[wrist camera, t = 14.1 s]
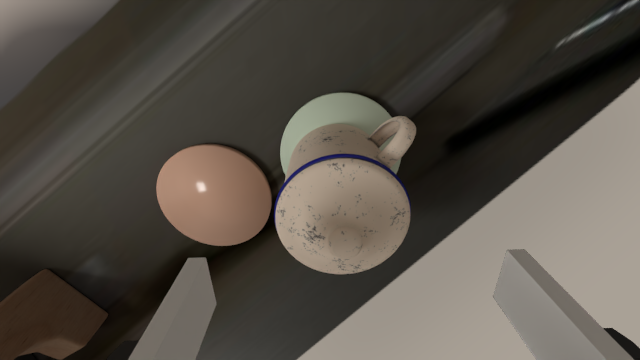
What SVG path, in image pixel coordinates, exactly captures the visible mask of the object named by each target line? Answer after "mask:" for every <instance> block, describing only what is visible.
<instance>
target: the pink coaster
mask: <svg viewBox="0 0 640 360" xmlns="http://www.w3.org/2000/svg"><path fill="white" fill-rule="evenodd" d="M156 190H157V198H158V202H159V205H160V207H161V209H162V211H163V213H164V215H165V216H166V218H167V219H168V220H169V221H170V223H171V224H172V225H173V226H174V227H175V228H176V229H178V230H179V231H180V232H182V233H183V234H184V235H186V236H188V237H189V238H192V239H194V240H196V241H199V242H201V243H205V244H209V245H216V246H228V245H235V244H239V243H242V242H244V241H247V240H249V239H250V238H252V237H254V236H255V235H256V234H257V233H259V231H260V230H261V229H262V228H263V227H264V225H265V224H266V222H267V220H268V217H269V214H270V210H271V206H272V193H271V188H270V185H269V182H268V180H267V178H266V176H265V174H264V173H263V171H262V170H261V169H260V167H259V166H258V165H257V164H256V163H255V162H254V161H253V160H252V159H250V158H249V157H248V156H246V155H245V154H243V153H241V152H240V151H238V150H236V149H233V148H231V147H228V146H224V145H220V144H210V143H205V144H197V145H192V146H189V147H187V148H184V149H183V150H181V151H179V152H178V153H176V154H175V155H174V156H172V157H171V158H170V159H169V160H168V161H167V162H166V163H165V164H164V166H163V167H162V169H161V171H160V173H159V176H158V179H157V187H156Z"/></svg>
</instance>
